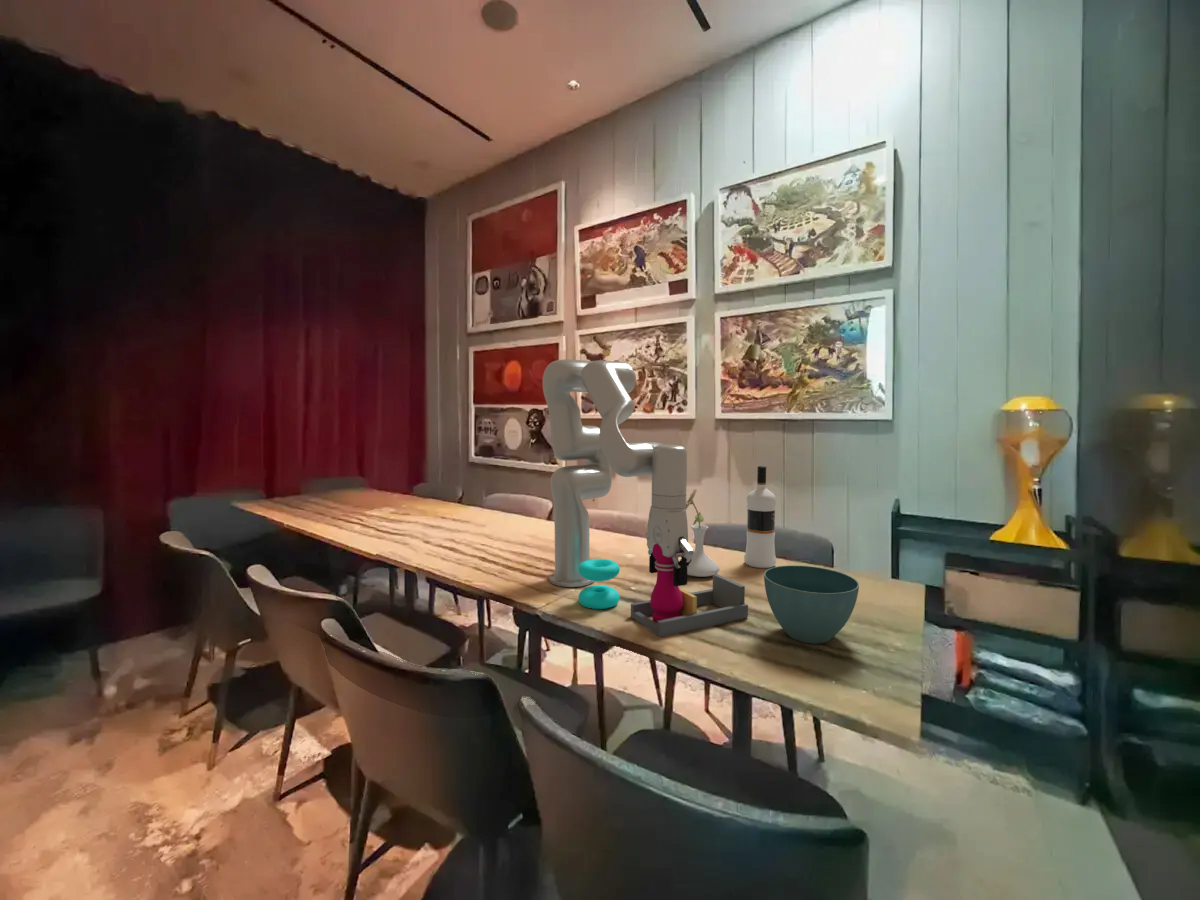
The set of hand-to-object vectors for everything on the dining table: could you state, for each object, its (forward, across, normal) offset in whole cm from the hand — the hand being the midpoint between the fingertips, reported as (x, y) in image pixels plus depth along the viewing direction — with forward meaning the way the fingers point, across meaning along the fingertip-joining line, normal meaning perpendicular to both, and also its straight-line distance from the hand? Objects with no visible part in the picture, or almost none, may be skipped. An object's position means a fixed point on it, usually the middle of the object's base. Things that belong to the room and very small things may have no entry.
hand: (667, 578), depth 119 cm
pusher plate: (+10, 0, +4) cm, 10 cm away
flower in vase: (+10, -25, +26) cm, 37 cm away
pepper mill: (+10, 0, 0) cm, 10 cm away
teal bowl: (+10, +19, +22) cm, 31 cm away
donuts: (+10, -17, -9) cm, 21 cm away
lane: (+10, 0, +6) cm, 11 cm away
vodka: (+10, -25, +49) cm, 56 cm away
